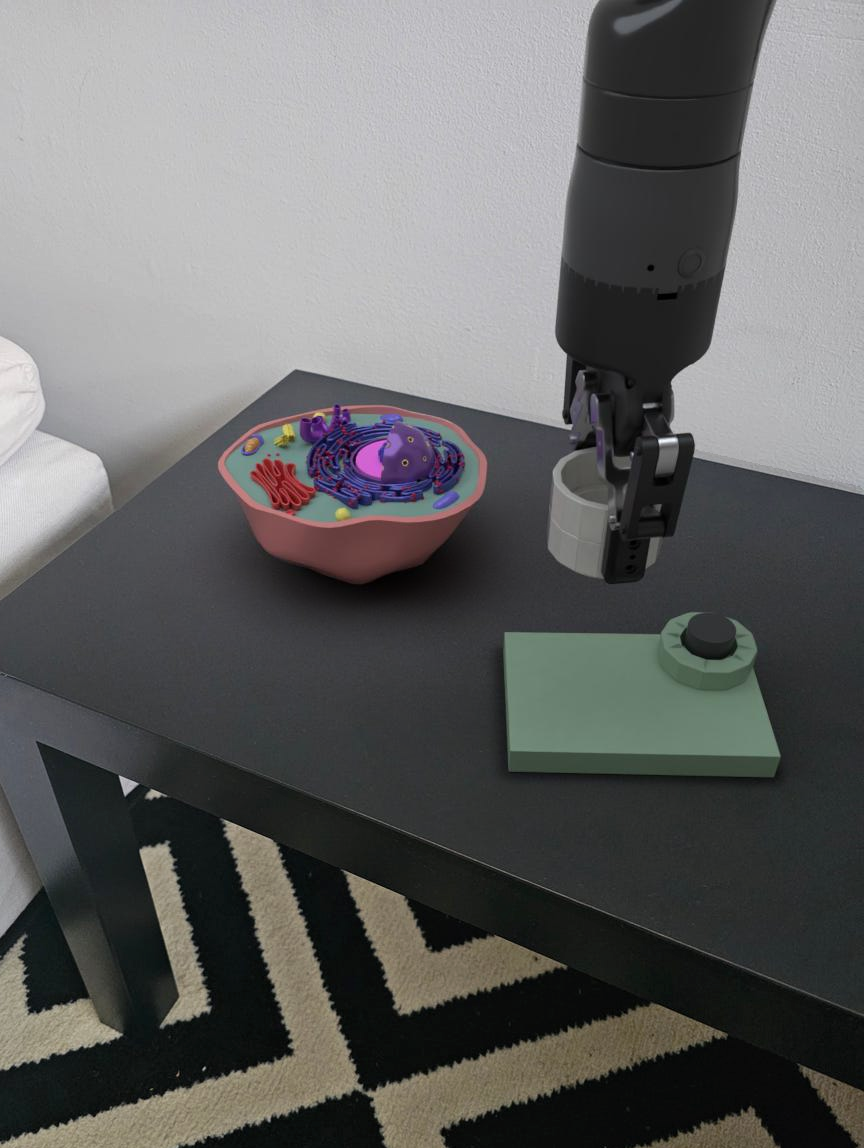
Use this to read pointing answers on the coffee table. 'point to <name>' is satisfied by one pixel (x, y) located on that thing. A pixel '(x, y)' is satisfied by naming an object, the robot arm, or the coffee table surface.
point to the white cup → (583, 514)
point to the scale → (635, 705)
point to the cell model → (355, 487)
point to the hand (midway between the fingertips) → (604, 541)
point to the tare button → (710, 636)
